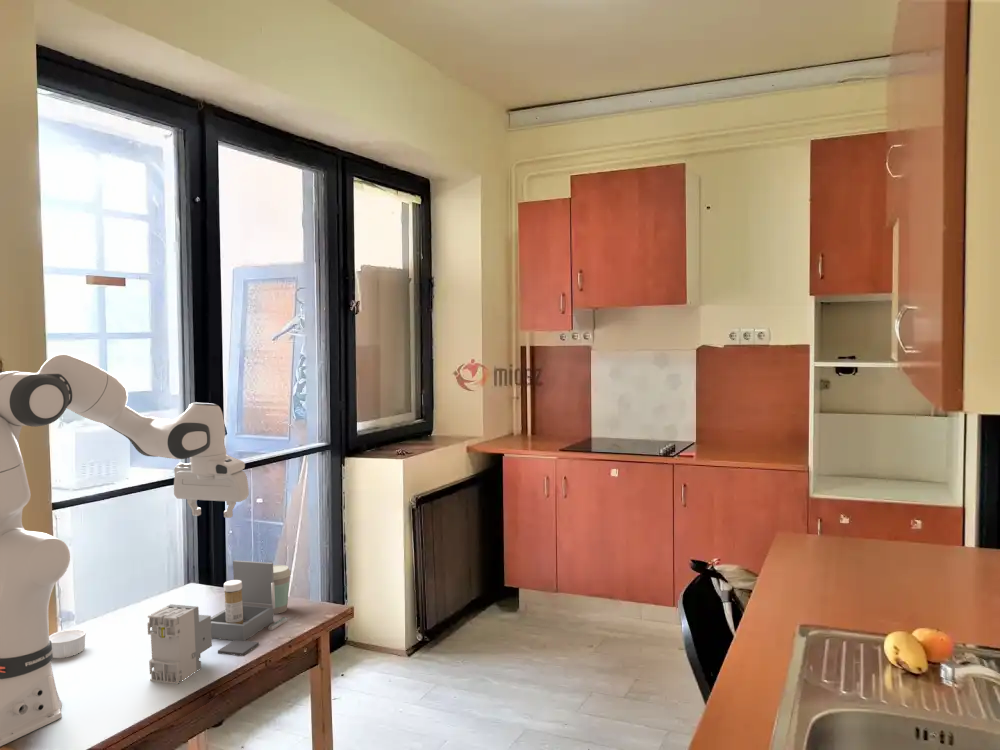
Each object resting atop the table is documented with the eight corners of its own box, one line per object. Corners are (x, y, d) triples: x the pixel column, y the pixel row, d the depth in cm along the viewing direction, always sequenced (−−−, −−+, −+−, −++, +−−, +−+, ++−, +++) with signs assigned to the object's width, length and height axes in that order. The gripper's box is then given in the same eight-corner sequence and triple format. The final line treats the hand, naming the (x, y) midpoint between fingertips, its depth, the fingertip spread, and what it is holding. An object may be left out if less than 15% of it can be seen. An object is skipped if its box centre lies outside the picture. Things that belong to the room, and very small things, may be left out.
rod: (272, 631, 211) (272, 626, 211) (268, 630, 211) (268, 626, 211) (287, 621, 217) (286, 617, 217) (283, 621, 218) (283, 617, 218)
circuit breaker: (216, 658, 193) (214, 597, 192) (178, 684, 179) (175, 618, 179) (190, 655, 195) (187, 595, 194) (150, 680, 181) (147, 616, 181)
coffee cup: (266, 605, 230) (265, 564, 229) (295, 605, 230) (294, 564, 229) (256, 615, 222) (254, 573, 221) (286, 615, 221) (285, 573, 221)
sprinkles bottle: (242, 627, 213) (240, 578, 212) (245, 633, 209) (243, 583, 208) (224, 630, 211) (222, 580, 210) (226, 636, 207) (224, 585, 206)
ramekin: (38, 660, 195) (37, 642, 194) (59, 645, 204) (58, 629, 203) (74, 659, 194) (73, 642, 194) (93, 645, 203) (92, 628, 203)
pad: (242, 655, 194) (242, 653, 194) (217, 653, 196) (217, 650, 196) (258, 644, 201) (258, 642, 201) (234, 642, 203) (234, 639, 203)
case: (247, 641, 203) (244, 580, 202) (203, 637, 207) (200, 576, 206) (278, 620, 217) (276, 563, 216) (236, 617, 221) (234, 560, 220)
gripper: (166, 465, 205) (170, 517, 206) (236, 468, 200) (239, 521, 201) (182, 460, 211) (185, 510, 213) (250, 462, 206) (253, 514, 207)
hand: (212, 516), depth 207 cm, fingers open, 8 cm apart
